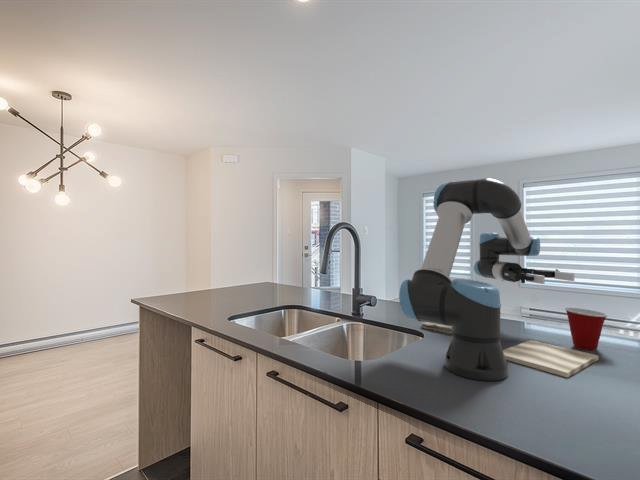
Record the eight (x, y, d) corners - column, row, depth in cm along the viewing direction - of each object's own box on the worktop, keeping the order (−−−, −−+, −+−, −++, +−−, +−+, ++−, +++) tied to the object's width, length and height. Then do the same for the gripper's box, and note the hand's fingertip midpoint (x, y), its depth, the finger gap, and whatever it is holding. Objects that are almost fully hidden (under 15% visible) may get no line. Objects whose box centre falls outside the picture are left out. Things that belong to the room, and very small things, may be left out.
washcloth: (434, 323, 139) (434, 316, 139) (478, 332, 126) (478, 324, 126) (419, 329, 131) (419, 321, 131) (465, 339, 118) (465, 330, 118)
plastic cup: (617, 354, 100) (617, 314, 100) (576, 352, 102) (576, 313, 102) (595, 343, 111) (595, 307, 111) (558, 341, 113) (558, 306, 113)
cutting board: (567, 377, 83) (567, 372, 83) (495, 356, 98) (495, 352, 98) (598, 359, 96) (598, 355, 96) (530, 343, 111) (530, 340, 111)
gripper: (531, 278, 139) (585, 286, 118) (482, 283, 131) (530, 292, 111) (531, 260, 138) (585, 265, 118) (482, 264, 131) (530, 269, 111)
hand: (559, 278), depth 114 cm, fingers open, 13 cm apart
